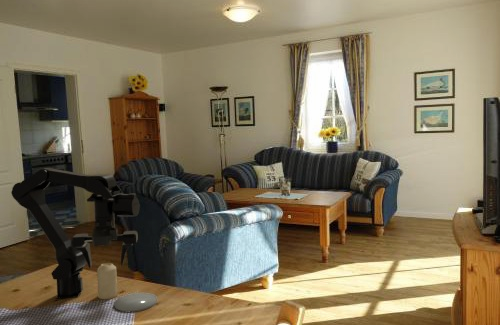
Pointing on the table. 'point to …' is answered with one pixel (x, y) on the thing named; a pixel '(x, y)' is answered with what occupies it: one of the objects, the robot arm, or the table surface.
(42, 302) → the table surface
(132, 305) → the slate plate
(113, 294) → the candle
